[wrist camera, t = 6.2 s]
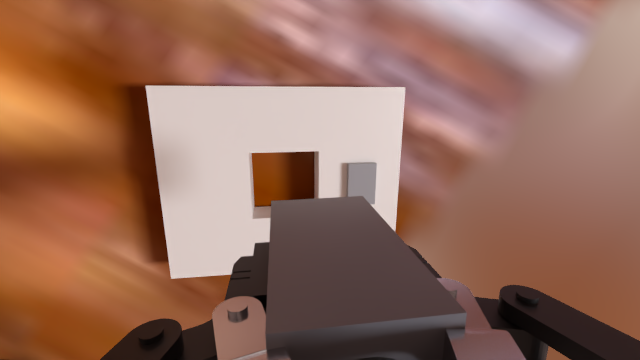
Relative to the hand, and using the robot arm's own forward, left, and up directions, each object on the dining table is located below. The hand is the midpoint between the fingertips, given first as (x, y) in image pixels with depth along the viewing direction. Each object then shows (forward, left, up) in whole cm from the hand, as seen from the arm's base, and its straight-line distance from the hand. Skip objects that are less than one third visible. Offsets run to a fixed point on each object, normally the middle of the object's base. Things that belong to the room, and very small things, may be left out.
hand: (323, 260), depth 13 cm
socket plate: (-1, -1, -18) cm, 18 cm away
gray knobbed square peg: (0, 0, -2) cm, 2 cm away
